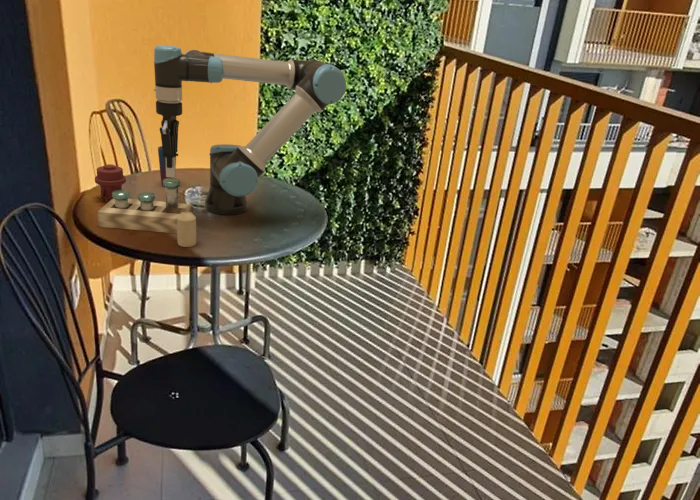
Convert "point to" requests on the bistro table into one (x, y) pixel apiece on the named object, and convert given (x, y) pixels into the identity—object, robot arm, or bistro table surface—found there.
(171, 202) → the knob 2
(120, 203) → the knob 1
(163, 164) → the cup
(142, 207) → the green lidded glass jar
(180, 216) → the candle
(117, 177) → the mechanical component
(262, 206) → the bistro table surface
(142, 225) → the birch block
